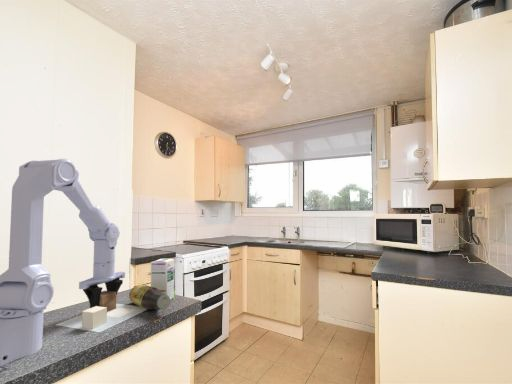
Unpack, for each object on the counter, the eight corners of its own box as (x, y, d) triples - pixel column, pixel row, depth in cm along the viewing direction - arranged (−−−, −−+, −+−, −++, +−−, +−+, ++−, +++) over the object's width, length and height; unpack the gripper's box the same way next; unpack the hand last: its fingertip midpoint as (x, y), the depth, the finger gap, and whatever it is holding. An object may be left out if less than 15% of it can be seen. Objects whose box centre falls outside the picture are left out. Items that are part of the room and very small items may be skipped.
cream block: (92, 328, 68) (93, 312, 68) (81, 327, 69) (82, 311, 69) (106, 322, 71) (106, 307, 72) (95, 321, 73) (96, 306, 73)
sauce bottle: (139, 280, 91) (168, 283, 77) (150, 294, 92) (179, 299, 79) (123, 294, 86) (149, 301, 73) (134, 309, 88) (162, 317, 74)
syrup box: (167, 307, 85) (167, 261, 86) (150, 306, 86) (150, 261, 87) (175, 301, 90) (175, 258, 92) (159, 300, 91) (159, 258, 93)
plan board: (99, 335, 65) (99, 332, 65) (55, 327, 71) (55, 324, 71) (151, 310, 82) (151, 307, 82) (112, 305, 88) (112, 303, 88)
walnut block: (102, 314, 78) (102, 296, 78) (89, 312, 80) (90, 295, 80) (116, 308, 83) (116, 291, 83) (104, 306, 84) (104, 290, 85)
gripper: (92, 267, 74) (90, 317, 73) (132, 258, 88) (131, 300, 87) (74, 266, 76) (72, 314, 75) (116, 257, 90) (115, 299, 89)
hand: (103, 307), depth 81 cm, fingers closed on walnut block, 5 cm apart
